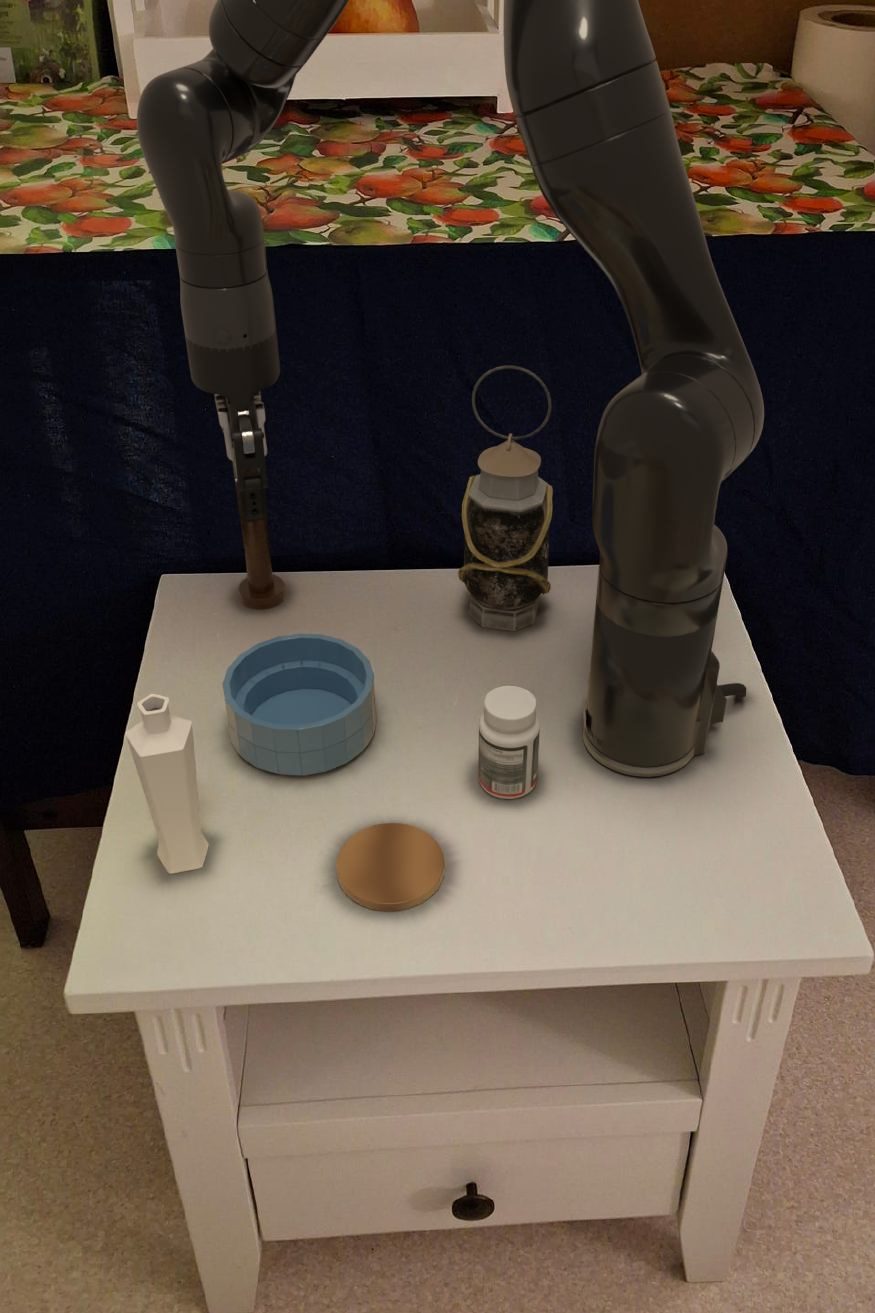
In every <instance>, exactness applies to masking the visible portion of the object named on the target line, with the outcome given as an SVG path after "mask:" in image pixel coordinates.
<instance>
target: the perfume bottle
mask: <svg viewBox="0 0 875 1313" xmlns="http://www.w3.org/2000/svg"><path fill="white" fill-rule="evenodd" d="M169 703H170V698H169V697H167V696H164V695H161V694H157V693H151V694H148V695H147V696H145V697H144V698H143V699H142V698H141V700H140V701H138V702H137V703H136V706H137V707H138V709H139V710H140V715H141V719H142V720H141V721H139V723H137V724H135V725H134V726H132V727H131V728H130V729H128V730H126V731H125V733H124V734H125V737H126V740H127V744H128V748H129V750H130V753H131V756H132V760H133V763H134V765H135V769H136V772H137V775H138V778H139V781H140V784H141V787H142V788H141V789H142V790H143V794H144V797H145V801H146V803H147V807H148V809H149V812H150V816H151V819H152V822H153V825H154V829H155V832H156V834H157V838H158V844H157V845H158V846H157V851H156V855H157V857H158V859H159V860H160V862H161V864H162V865H163V867H164V868H165V870H166V872H167V873H168V874H177V873H183V872H188V871H192V870H199V869H201V868H203V866H204V864H205V860H206V856H207V853H208V851H209V850H208V849H209V847H210V844H209V842H208V840H207V838H206V837H205V835H204V834H203V831H202V824H201V813H200V800H199V790H198V787H199V786H198V777H197V765H196V754H195V752H196V751H195V742H194V740H195V739H194V730H193V729H194V728H193V721H192V720H189V719H186V718H183V717H179V716H175V715H172V714H171V713H170V707H169Z"/></svg>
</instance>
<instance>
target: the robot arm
mask: <svg viewBox="0 0 875 1313" xmlns="http://www.w3.org/2000/svg"><path fill="white" fill-rule="evenodd" d="M349 2H350V0H216V2H215V4H214V6H213V8H212V10H211V13H210V16H209V20H208V36H209V40H210V44H211V47H212V49H211V50H210V51H209V52H208V54H206V55H205V57H203V58H201V60H197V61H196V62H193V63H190V64H187V65H183V66H181V67H178V68H174V69H172V70H169V71H166V72H164V73H161V74H159V75H157V76H155V77H153V78H152V79H151V80H149V82H147V84H146V86H144V88H143V90H142V92H141V95H140V97H139V100H138V105H137V111H136V131H137V139H138V143H139V147H140V149H141V153H142V155H143V158H144V162H145V163H146V166H147V168H148V171H149V173H150V175H151V177H152V180H153V182H154V185H155V187H156V190H157V192H158V195H159V198H160V200H161V203H162V205H163V208H164V210H165V212H166V213H167V217H168V218H169V220H170V223H171V226H172V230H173V237H174V246H175V251H176V252H175V253H176V260H177V267H178V273H179V274H178V275H179V282H180V284H179V285H180V287H179V288H180V295H179V296H180V297H179V298H180V300H179V301H180V309H181V310H180V311H181V316H182V324H183V330H184V338H185V343H186V344H185V345H186V352H187V357H188V358H187V359H188V365H189V366H188V367H189V371H190V378H191V381H192V383H193V384H194V385H195V387H197V388H198V389H200V390H201V391H203V392H205V393H207V394H210V395H214V401H215V402H214V403H215V408H216V413H217V417H218V423H219V426H220V428H221V432H222V433H223V436H224V443H225V449H226V450H225V451H226V456H227V458H228V460H229V461H231V463H232V465H233V461H234V465H235V472H236V478H235V475H234V474H233V479H234V483H235V485H236V484H237V487H239V494H240V502H241V510H242V516H243V520H244V521H245V522H255V521H263V520H265V519H266V518H267V519H268V505H267V496H266V489H268V488H269V486H268V485H269V484H270V482H269V477H268V476H267V465H266V456H267V454H268V445H267V439H266V438H267V437H266V431H265V423H266V421H267V420H266V419H267V418H266V410H265V404H264V402H263V401H262V394H261V391H262V390H266V389H267V388H270V387H271V386H272V385H273V384H274V383H276V381H277V380H278V379H279V377H280V374H281V364H280V363H281V362H280V354H279V344H278V343H279V342H278V334H277V323H276V313H275V302H274V293H273V290H272V285H271V282H270V277H269V271H268V261H267V251H266V250H267V249H266V240H265V232H264V224H263V218H262V212H261V209H260V207H259V204H258V203H257V201H256V200H255V199H254V198H253V197H252V196H250V195H249V194H247V193H245V192H243V191H239V190H236V189H235V190H234V189H229V188H228V186H227V185H226V184H227V183H226V181H225V178H224V174H223V164H226V163H227V162H229V161H232V160H235V159H236V158H239V157H241V156H244V155H245V154H247V153H249V152H250V151H252V150H254V148H256V147H257V146H258V145H259V144H260V143H262V141H264V139H265V138H266V137H267V135H268V134H270V132H271V131H272V130H273V128H274V126H275V125H276V123H277V121H278V120H279V118H280V116H281V114H282V113H283V112H282V111H283V109H284V107H285V105H286V102H287V100H288V98H289V96H290V93H291V91H292V89H293V86H294V83H295V80H296V77H297V74H298V73H299V72H300V71H301V70H302V69H303V67H305V65H306V64H307V62H308V61H309V60H310V58H311V57H312V56H313V54H314V53H315V51H316V50H317V49H318V48H319V46H320V45H321V43H322V42H323V41H324V40H325V38H326V37H327V35H328V34H329V33H330V31H331V30H332V29H333V27H334V26H335V24H336V23H337V21H338V19H340V17H341V15H343V14H342V13H343V12H344V10H346V7H347V5H348V3H349ZM502 26H503V29H502V30H503V31H502V32H503V34H502V36H503V59H504V60H503V61H504V62H503V63H504V71H505V73H504V74H505V81H506V87H507V92H508V98H509V100H510V104H511V109H512V112H513V115H514V117H516V118H515V121H516V125H517V127H518V131H519V133H520V137H521V139H522V140H521V141H522V143H523V146H524V149H525V152H526V155H527V158H528V161H529V164H530V166H531V170H532V173H533V176H534V177H535V182H536V183H537V186H538V188H539V190H540V192H541V194H542V196H543V198H544V200H545V202H546V204H547V205H548V206H549V207H550V209H551V211H552V212H553V213H554V215H555V216H556V218H557V219H558V220H559V222H560V223H561V224H562V225H563V227H564V228H565V229H566V230H567V231H568V233H569V234H570V235H571V237H573V239H575V241H576V242H577V243H578V244H579V245H580V246H581V247H582V249H584V251H585V253H587V254H588V255H589V257H590V258H591V259H592V260H593V262H595V264H596V265H597V266H598V267H599V269H600V270H601V271H602V272H603V273H604V275H605V276H606V278H607V279H608V281H609V282H610V284H611V285H612V287H613V289H614V291H615V293H616V295H617V297H618V299H619V301H620V304H621V307H622V309H623V312H624V314H625V317H626V320H627V323H628V326H629V329H630V333H631V336H632V340H633V343H634V346H635V351H636V354H637V358H638V363H639V364H638V365H639V369H640V375H638V377H637V378H635V379H634V380H633V381H632V382H630V383H629V384H627V385H626V386H625V387H623V389H622V390H620V391H619V392H617V393H616V394H615V395H614V396H613V397H612V398H611V400H610V401H609V402H608V404H607V405H606V407H605V409H604V410H603V413H602V414H601V418H600V421H599V424H598V428H597V432H596V438H595V444H594V445H595V447H594V457H593V459H594V460H593V484H592V512H591V513H592V514H591V516H592V518H591V520H592V521H591V522H592V523H591V524H592V531H593V535H594V540H595V543H596V545H597V546H598V549H599V560H598V573H597V584H596V586H597V587H596V594H595V607H594V617H593V630H592V639H591V640H592V641H591V650H590V651H591V652H590V662H589V672H588V682H587V683H588V684H587V693H586V694H587V695H586V703H585V701H583V705H582V717H583V718H582V719H583V725H582V726H583V727H582V739H583V743H584V747H586V749H587V751H588V752H589V754H590V755H591V756H592V757H593V758H594V759H595V760H596V761H597V762H599V763H600V764H601V765H603V766H605V767H607V768H609V769H610V770H613V771H615V772H618V773H619V774H624V775H627V776H634V777H643V778H644V777H647V778H652V777H659V776H664V775H668V774H671V773H674V772H676V771H679V770H680V769H682V768H684V766H686V765H687V764H688V763H690V761H691V760H692V759H693V757H695V756H698V755H704V754H705V753H706V747H707V741H708V735H709V732H710V731H709V730H710V725H713V724H718V723H723V722H724V718H725V713H726V707H727V701H728V699H727V697H730V696H731V697H732V696H735V698H737V699H743V698H745V697H746V696H747V686H746V685H745V684H743V683H740V682H733V683H725V684H719V685H718V679H719V672H720V668H721V667H720V665H721V664H720V661H719V659H718V657H717V655H716V654H715V653H714V652H713V644H714V639H715V632H716V627H717V621H718V614H719V608H720V602H721V597H722V596H721V595H722V591H723V590H722V589H723V584H724V577H725V572H726V568H727V566H726V565H727V561H728V543H727V540H726V537H725V535H724V534H723V532H722V531H721V530H720V528H719V527H718V526H717V525H716V524H715V519H716V511H717V503H718V497H719V493H720V492H719V491H720V488H721V484H722V483H723V482H724V481H725V480H726V479H727V478H728V477H729V476H730V475H731V474H733V472H734V471H735V470H736V469H737V468H738V467H739V466H741V464H743V462H745V460H746V459H747V458H748V457H749V455H751V453H753V450H754V449H755V448H756V446H757V444H758V442H759V441H760V438H761V435H762V433H763V432H762V431H763V428H764V422H765V420H764V419H765V406H764V405H765V404H764V398H763V394H762V390H761V385H760V383H759V380H758V377H757V374H756V371H755V369H754V365H753V364H752V360H751V358H750V356H749V352H748V351H747V350H748V349H747V348H746V345H745V343H744V341H743V337H742V335H741V333H740V331H739V330H740V329H739V328H738V326H737V323H736V321H735V317H734V316H733V313H732V311H731V308H730V306H729V303H728V301H727V297H726V296H725V292H724V290H723V288H722V285H721V283H720V279H719V278H718V275H717V272H716V269H715V266H714V263H713V261H712V257H711V253H710V250H709V247H708V242H707V239H706V236H705V232H704V228H703V224H702V220H701V217H700V213H699V211H698V210H699V209H698V207H697V203H696V200H695V196H694V193H693V190H692V185H691V183H690V180H689V176H688V173H687V169H686V166H685V163H684V159H683V157H682V156H683V155H682V151H681V148H680V144H679V140H678V136H677V131H676V128H675V123H674V118H673V114H672V111H671V107H670V103H669V99H668V95H667V91H666V88H665V84H664V81H663V77H662V74H661V71H660V67H659V63H658V60H656V53H655V50H654V46H653V44H652V41H651V38H650V35H649V32H648V28H647V25H646V23H645V19H644V15H643V13H642V9H641V6H640V3H639V0H503V25H502ZM256 468H258V471H253V472H245V473H243V471H244V470H248V469H256ZM232 471H233V473H234V467H233V466H232Z"/></svg>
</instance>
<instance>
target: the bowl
mask: <svg viewBox="0 0 875 1313" xmlns="http://www.w3.org/2000/svg"><path fill="white" fill-rule="evenodd" d="M375 689H376V688H375V674H374V671H373V667H372V665H371V661H370V660H369V659H368V657H367V656H366V655H365V654H364V653H363V652H362V651H361V650H360V649H359V647H356V646H355V645H353V644H351V643H349V642H347V641H346V640H343V639H341V638H337V637H333V636H329V635H326V634H322V633H302V632H300V633H293V634H286V635H279V636H275V637H272V638H270V639H269V638H268V639H267V640H264V641H260V642H258V643H256V644H254V645H253V646H251V647H249V648H247V649H246V650H245V651H243V652H241V653H240V654H239V655H237V657H236V658H235V659H234V660H233V661H232V663H231V664H230V665H229V666H228V667H227V669H226V673H225V675H224V678H223V681H222V690H223V697H224V704H225V708H226V710H225V711H226V716H227V722H228V729H229V736H230V742H231V745H232V746H233V747H234V749H235V750H236V752H237V754H238V755H239V756H240V757H241V759H243V760H244V761H246V762H247V763H248V764H251V765H252V766H254V767H255V768H256V769H260V770H262V771H263V770H264V771H267V772H270V773H273V774H277V775H283V776H284V775H285V776H309V775H315V774H320V773H326V772H329V771H331V770H334V769H336V768H338V767H341V766H343V765H346V764H348V763H349V762H350V761H352V760H353V759H354V758H356V757H357V756H358V755H359V754H361V753H362V752H363V751H364V750H365V749H366V747H367V746H368V745H369V743H370V742H371V740H372V739H373V737H374V735H375V731H376V730H375V729H376V724H377V707H376V690H375Z"/></svg>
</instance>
